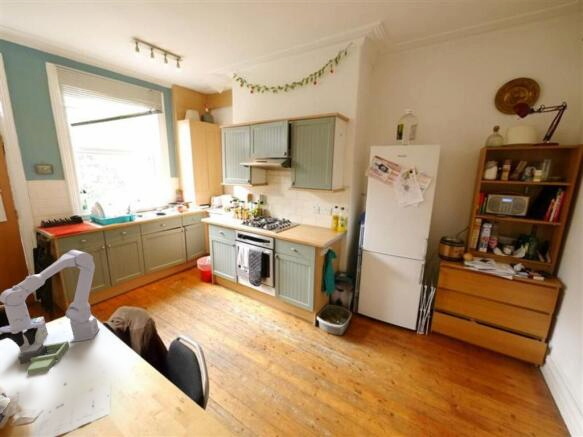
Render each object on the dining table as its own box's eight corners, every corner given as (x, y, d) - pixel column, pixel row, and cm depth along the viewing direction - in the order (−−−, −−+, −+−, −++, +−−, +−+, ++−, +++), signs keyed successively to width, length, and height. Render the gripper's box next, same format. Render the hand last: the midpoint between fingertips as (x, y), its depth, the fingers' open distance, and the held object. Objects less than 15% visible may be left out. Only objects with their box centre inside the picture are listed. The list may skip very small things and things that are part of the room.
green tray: (69, 346, 118) (68, 341, 117) (51, 369, 105) (49, 363, 104) (44, 350, 115) (43, 345, 114) (23, 374, 102) (21, 368, 102)
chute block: (47, 352, 114) (44, 342, 113) (40, 361, 109) (37, 350, 108) (28, 355, 112) (25, 345, 111) (20, 364, 107) (17, 354, 106)
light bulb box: (31, 338, 122) (25, 319, 120) (49, 334, 125) (44, 315, 123) (20, 353, 113) (13, 333, 110) (39, 348, 116) (34, 329, 113)
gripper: (-13, 325, 96) (-3, 354, 99) (33, 319, 100) (41, 347, 103) (2, 314, 102) (11, 342, 106) (45, 309, 106) (52, 336, 110)
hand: (27, 344), depth 105 cm, fingers open, 3 cm apart
